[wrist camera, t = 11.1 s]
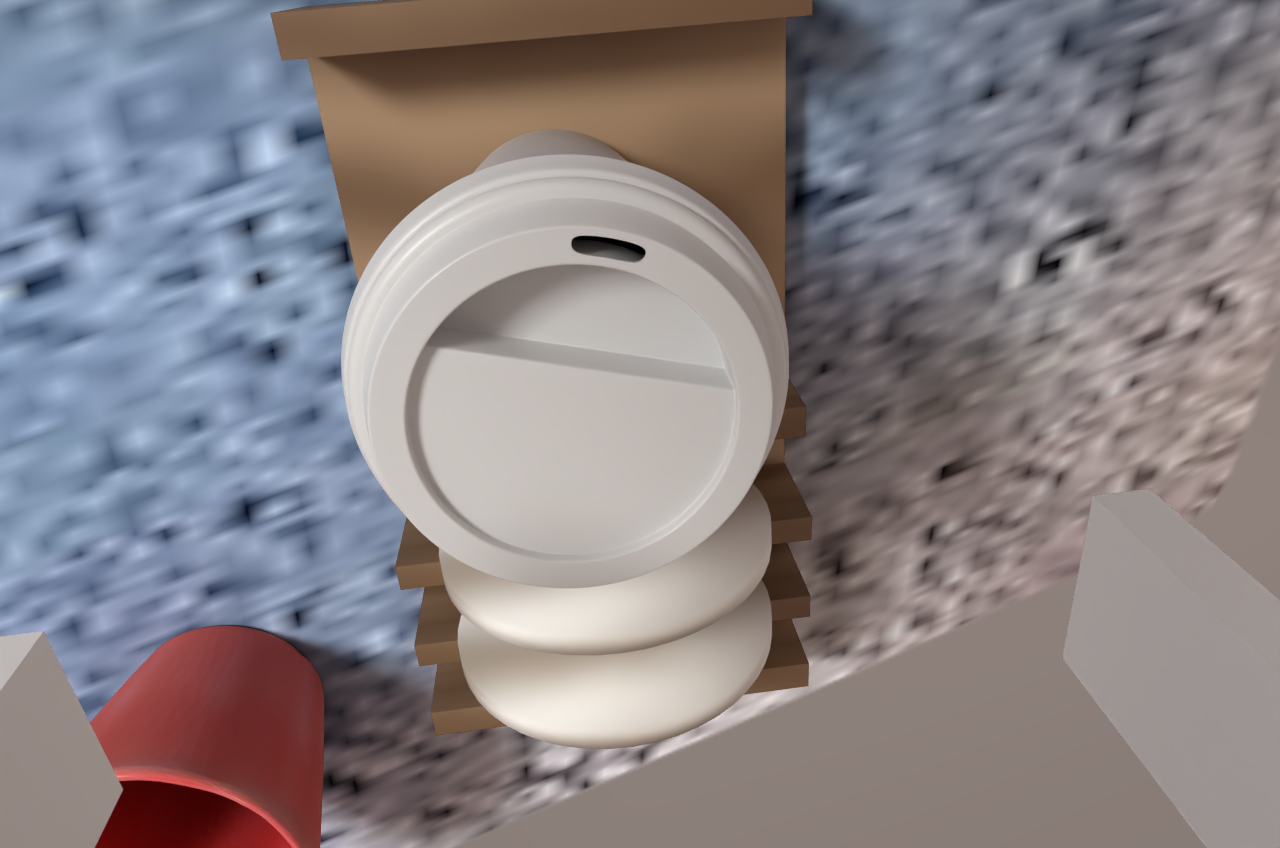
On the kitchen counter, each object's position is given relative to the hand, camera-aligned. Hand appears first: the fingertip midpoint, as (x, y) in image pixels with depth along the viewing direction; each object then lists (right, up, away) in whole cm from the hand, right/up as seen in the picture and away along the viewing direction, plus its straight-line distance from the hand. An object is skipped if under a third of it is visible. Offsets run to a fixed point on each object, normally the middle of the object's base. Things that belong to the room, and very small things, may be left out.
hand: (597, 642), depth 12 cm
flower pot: (-17, -9, +28) cm, 35 cm away
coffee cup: (-2, +10, +19) cm, 22 cm away
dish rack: (-2, +5, +23) cm, 23 cm away
